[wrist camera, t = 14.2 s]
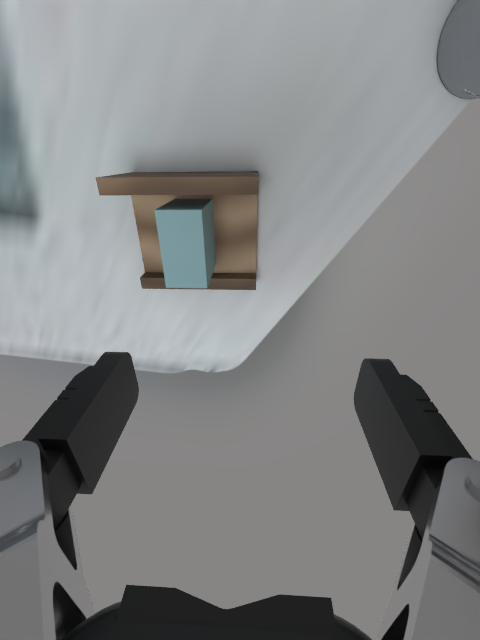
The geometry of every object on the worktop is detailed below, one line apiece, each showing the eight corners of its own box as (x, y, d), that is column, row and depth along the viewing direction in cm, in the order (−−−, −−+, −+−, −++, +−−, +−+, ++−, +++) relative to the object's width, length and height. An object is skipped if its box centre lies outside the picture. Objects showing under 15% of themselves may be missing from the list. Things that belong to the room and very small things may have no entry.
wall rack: (132, 172, 34) (95, 177, 27) (258, 171, 34) (258, 176, 26) (150, 278, 41) (125, 307, 33) (255, 279, 40) (255, 309, 33)
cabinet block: (175, 198, 34) (154, 209, 27) (212, 198, 34) (201, 209, 27) (182, 263, 38) (165, 287, 31) (216, 263, 38) (207, 288, 31)
